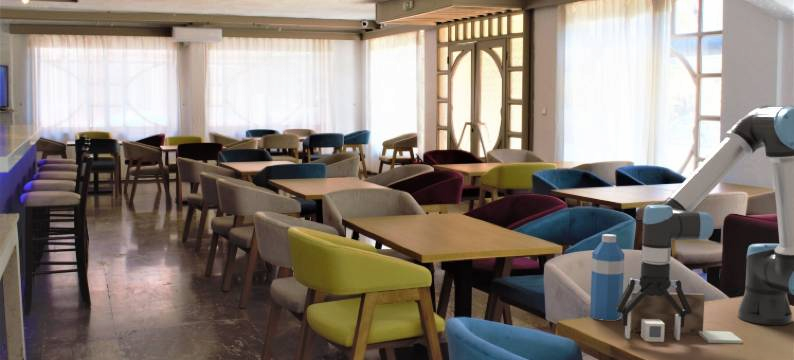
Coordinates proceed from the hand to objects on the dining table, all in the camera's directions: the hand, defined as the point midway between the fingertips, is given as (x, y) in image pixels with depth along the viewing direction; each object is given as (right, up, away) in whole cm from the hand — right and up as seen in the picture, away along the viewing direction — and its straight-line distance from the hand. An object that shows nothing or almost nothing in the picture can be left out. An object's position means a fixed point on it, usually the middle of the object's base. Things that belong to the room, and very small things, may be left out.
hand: (652, 338), depth 241 cm
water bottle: (-7, +2, +23) cm, 24 cm away
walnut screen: (+6, +1, +8) cm, 10 cm away
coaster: (+19, 0, +1) cm, 19 cm away
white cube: (0, 0, 0) cm, 0 cm away
